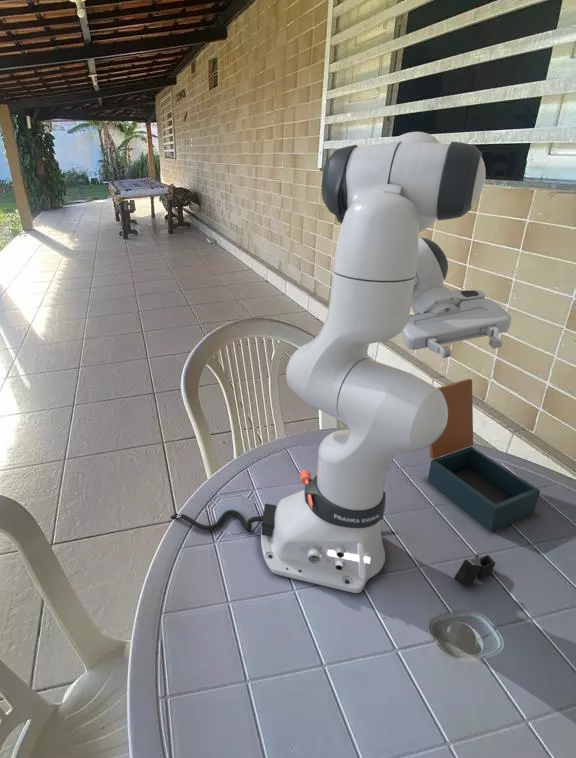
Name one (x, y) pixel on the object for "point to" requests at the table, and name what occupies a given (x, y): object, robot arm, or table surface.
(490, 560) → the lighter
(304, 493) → the robot arm
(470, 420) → the cover
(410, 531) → the table surface
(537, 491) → the case
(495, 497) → the black flat slab
